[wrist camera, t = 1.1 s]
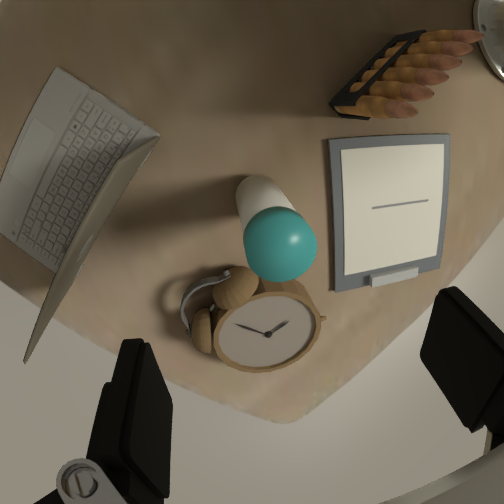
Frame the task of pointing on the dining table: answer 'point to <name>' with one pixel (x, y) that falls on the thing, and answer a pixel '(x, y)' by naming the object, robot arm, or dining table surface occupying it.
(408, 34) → the ammunition clip
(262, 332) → the alarm clock
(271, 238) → the marker
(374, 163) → the drawing board
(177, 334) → the dining table surface
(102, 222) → the laptop
